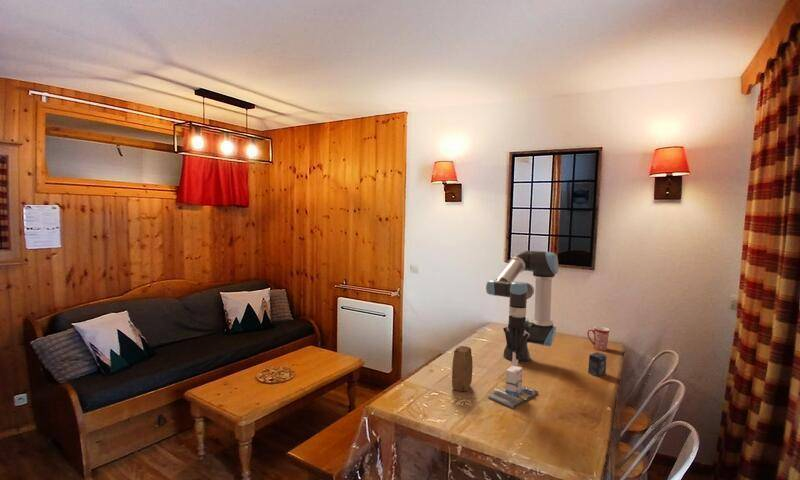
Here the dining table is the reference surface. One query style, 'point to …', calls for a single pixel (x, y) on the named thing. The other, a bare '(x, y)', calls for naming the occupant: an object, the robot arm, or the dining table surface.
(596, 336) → the mug
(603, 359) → the box
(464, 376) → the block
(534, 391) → the rail board
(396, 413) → the dining table surface
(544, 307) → the robot arm
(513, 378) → the ink box
